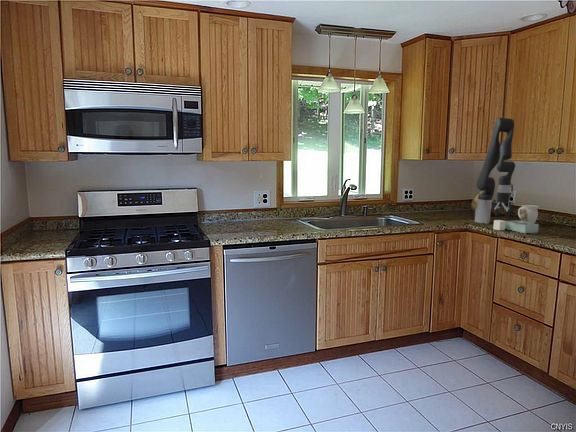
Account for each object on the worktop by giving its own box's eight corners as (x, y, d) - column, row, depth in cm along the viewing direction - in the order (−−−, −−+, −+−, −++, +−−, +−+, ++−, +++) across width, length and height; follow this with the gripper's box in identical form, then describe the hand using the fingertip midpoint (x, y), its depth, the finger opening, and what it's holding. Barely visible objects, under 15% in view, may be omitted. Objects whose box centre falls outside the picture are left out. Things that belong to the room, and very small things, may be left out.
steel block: (520, 228, 270) (521, 221, 269) (526, 230, 266) (527, 222, 265) (514, 229, 269) (515, 221, 268) (520, 230, 264) (521, 223, 263)
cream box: (493, 229, 273) (494, 220, 272) (498, 228, 274) (499, 220, 273) (499, 230, 268) (500, 221, 267) (505, 230, 270) (506, 221, 269)
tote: (504, 229, 272) (504, 221, 271) (517, 228, 276) (517, 220, 275) (524, 233, 258) (525, 225, 257) (537, 232, 262) (538, 224, 261)
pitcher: (523, 221, 308) (525, 203, 306) (543, 225, 291) (545, 206, 289) (511, 221, 306) (513, 203, 303) (530, 225, 288) (533, 206, 286)
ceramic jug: (481, 217, 324) (484, 179, 319) (466, 214, 338) (469, 178, 334) (496, 216, 331) (500, 179, 326) (481, 213, 345) (484, 178, 340)
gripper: (517, 192, 262) (515, 217, 264) (498, 191, 275) (496, 214, 277) (508, 192, 259) (506, 217, 261) (490, 191, 272) (488, 215, 275)
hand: (501, 216), depth 269 cm, fingers open, 8 cm apart
